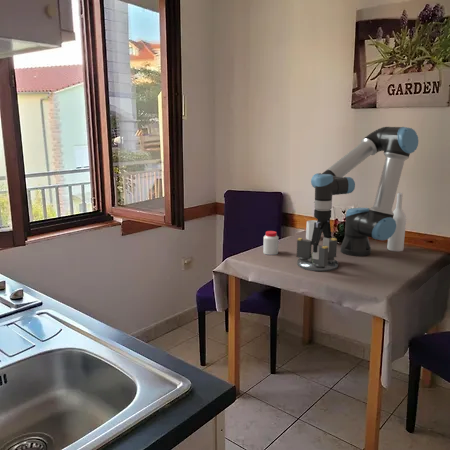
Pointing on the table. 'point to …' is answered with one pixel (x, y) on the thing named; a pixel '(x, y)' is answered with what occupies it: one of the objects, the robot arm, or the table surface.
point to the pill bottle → (270, 243)
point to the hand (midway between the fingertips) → (320, 255)
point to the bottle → (398, 227)
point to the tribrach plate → (311, 266)
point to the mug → (310, 229)
